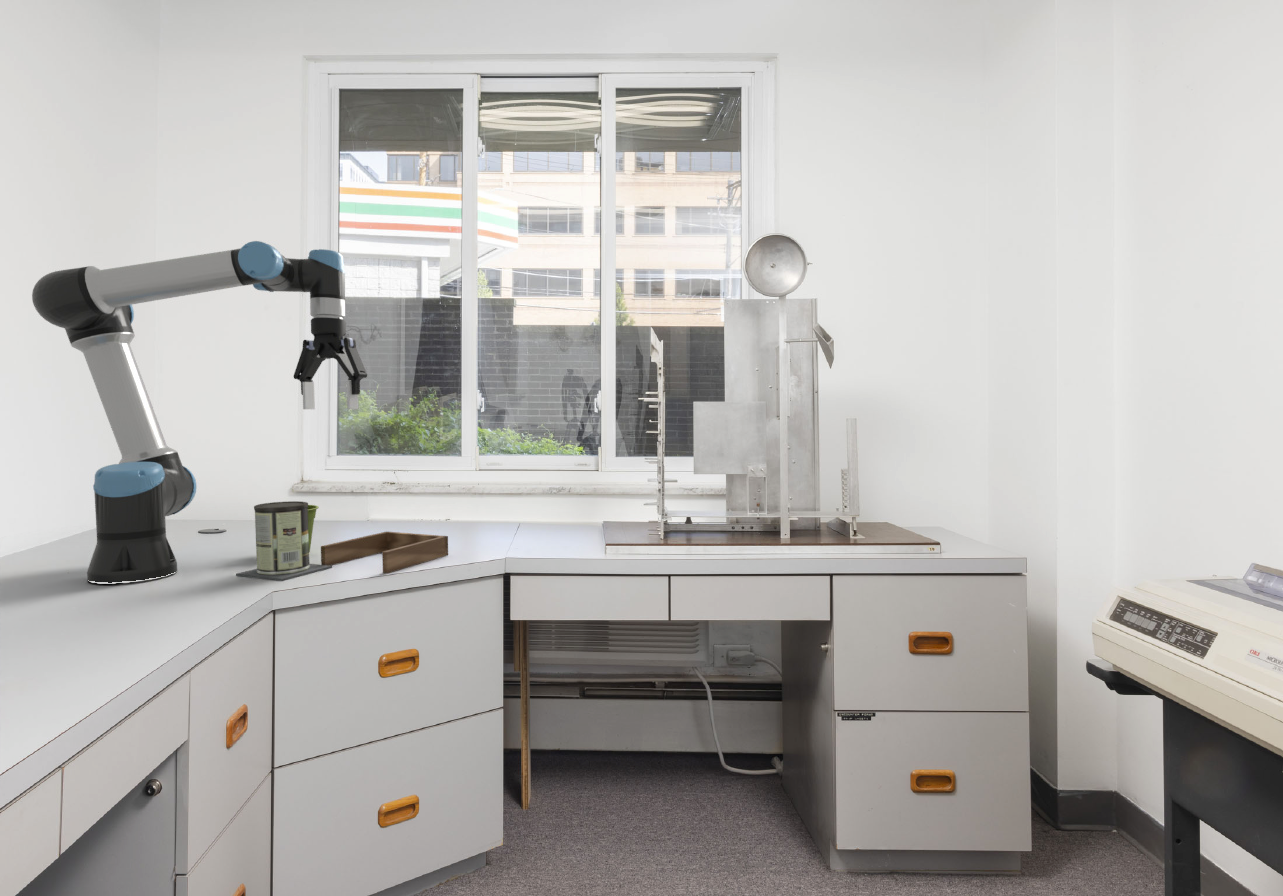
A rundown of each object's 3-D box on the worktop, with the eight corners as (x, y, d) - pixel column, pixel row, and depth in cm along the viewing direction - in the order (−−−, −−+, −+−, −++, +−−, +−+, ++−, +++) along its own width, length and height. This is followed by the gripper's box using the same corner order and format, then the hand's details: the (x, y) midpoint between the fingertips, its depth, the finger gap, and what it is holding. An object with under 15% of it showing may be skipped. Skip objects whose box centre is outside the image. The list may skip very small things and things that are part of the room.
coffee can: (285, 563, 157) (283, 500, 157) (320, 566, 154) (319, 502, 153) (244, 572, 148) (242, 506, 147) (281, 577, 144) (279, 508, 143)
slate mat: (236, 575, 147) (235, 573, 147) (288, 563, 159) (288, 561, 159) (281, 580, 142) (281, 578, 142) (332, 567, 154) (331, 565, 154)
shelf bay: (321, 566, 156) (320, 546, 155) (387, 549, 175) (386, 531, 174) (387, 573, 149) (386, 552, 149) (448, 554, 168) (447, 536, 168)
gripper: (381, 317, 164) (383, 409, 165) (301, 322, 173) (304, 409, 174) (357, 313, 157) (359, 408, 158) (275, 319, 166) (278, 409, 167)
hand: (330, 409), depth 166 cm, fingers open, 13 cm apart
